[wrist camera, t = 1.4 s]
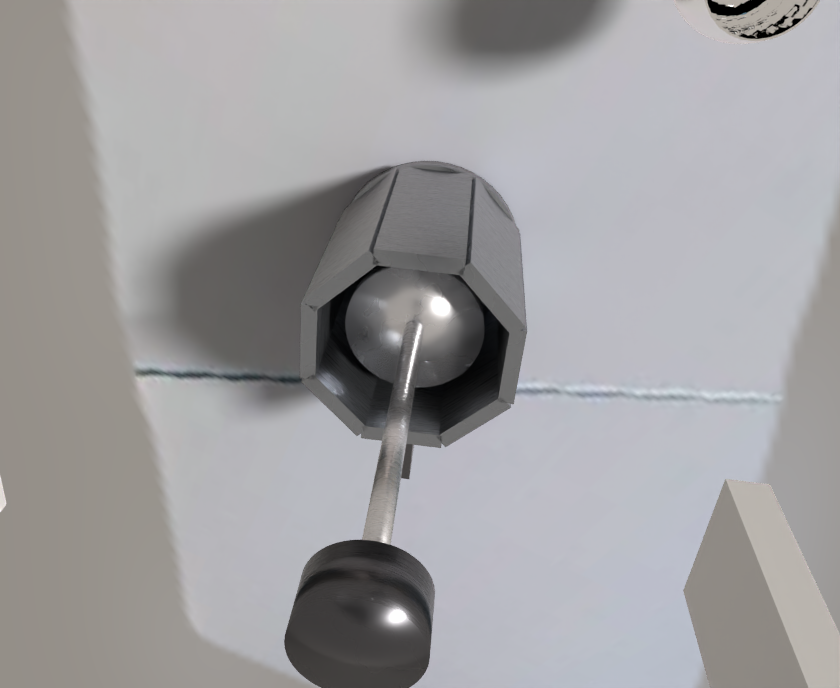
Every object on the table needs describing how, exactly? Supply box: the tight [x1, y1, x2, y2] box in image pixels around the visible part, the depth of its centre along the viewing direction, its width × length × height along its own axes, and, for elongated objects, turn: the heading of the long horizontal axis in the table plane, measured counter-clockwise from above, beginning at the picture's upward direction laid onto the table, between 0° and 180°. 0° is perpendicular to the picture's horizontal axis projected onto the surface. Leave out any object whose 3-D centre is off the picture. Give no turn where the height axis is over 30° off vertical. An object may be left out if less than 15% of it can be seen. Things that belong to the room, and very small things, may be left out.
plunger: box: [284, 266, 485, 688], centre depth 33 cm, size 7×7×21 cm
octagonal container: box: [300, 161, 527, 479], centre depth 45 cm, size 14×11×13 cm
